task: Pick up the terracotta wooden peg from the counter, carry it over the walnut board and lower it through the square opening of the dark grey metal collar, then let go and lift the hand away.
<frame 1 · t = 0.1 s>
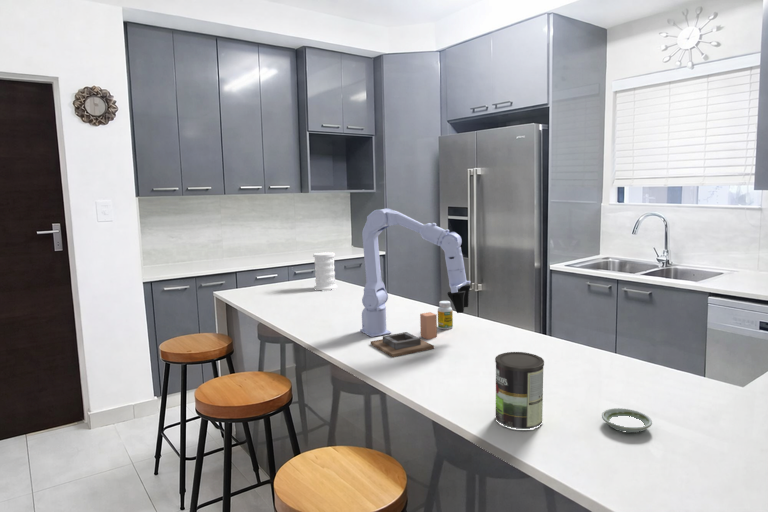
hand: (462, 309, 171), 10 cm above the countertop, tool pointing down, fingers open, 7 cm apart
peg holder: (401, 346, 168), on the countertop
decorative container: (325, 289, 264), on the countertop
peg: (428, 336, 178), on the countertop
coffee can: (518, 421, 115), on the countertop
grey-green ring: (625, 428, 110), on the countertop
supplement bottle: (445, 328, 188), on the countertop
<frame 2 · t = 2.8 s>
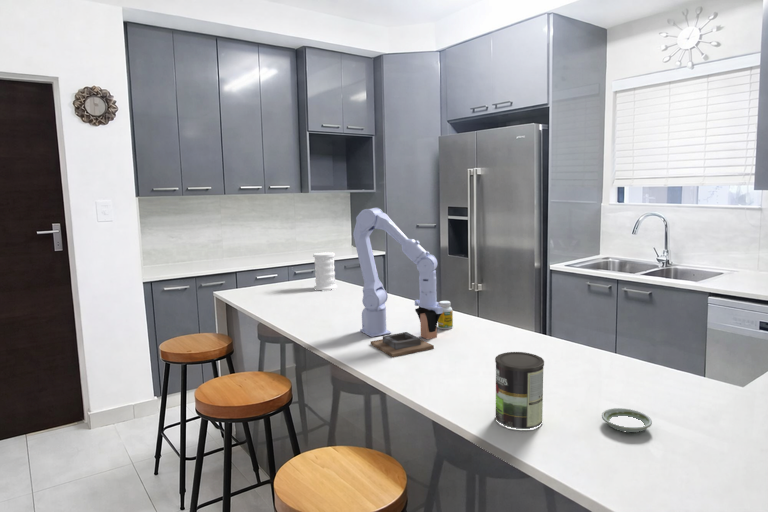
hand: (428, 330, 177), 2 cm above the countertop, tool pointing down, fingers closed on peg, 4 cm apart
peg: (428, 336, 178), on the countertop, touching gripper
everything else where it was.
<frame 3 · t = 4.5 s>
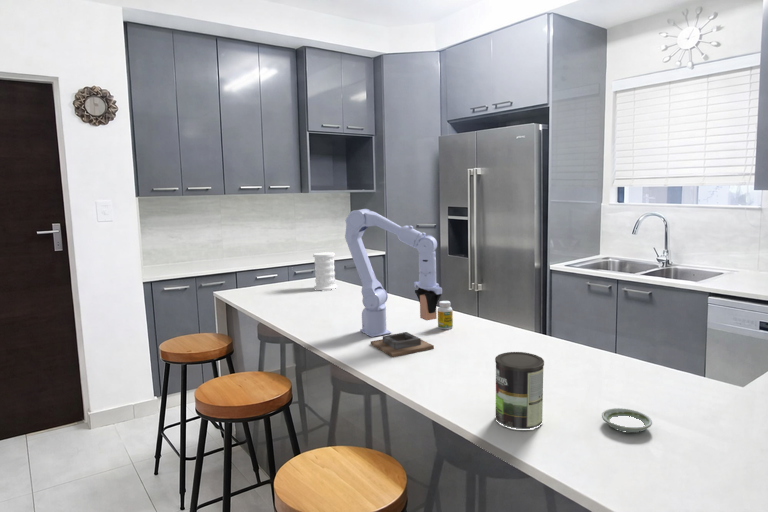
hand: (428, 311, 176), 9 cm above the countertop, tool pointing down, fingers closed on peg, 4 cm apart
peg: (428, 318, 177), point 7 cm above the countertop, touching gripper
everything else where it was.
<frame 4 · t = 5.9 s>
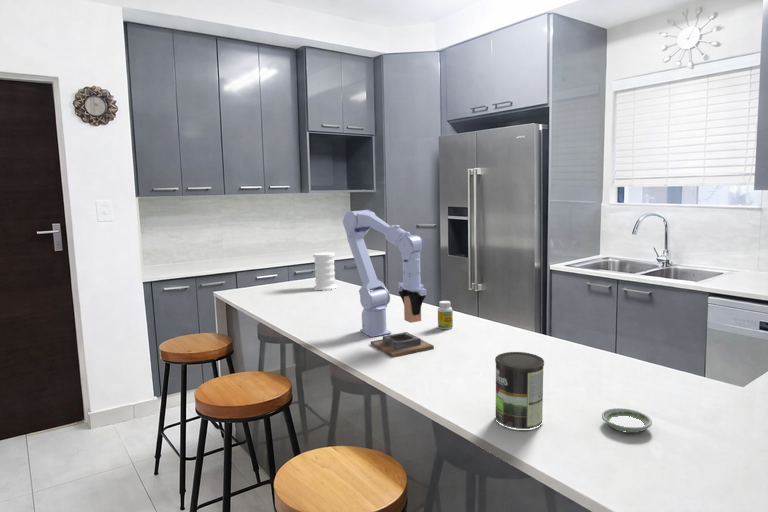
hand: (412, 313, 171), 10 cm above the countertop, tool pointing down, fingers closed on peg, 4 cm apart
peg: (412, 320, 171), point 7 cm above the countertop, touching gripper
everything else where it was.
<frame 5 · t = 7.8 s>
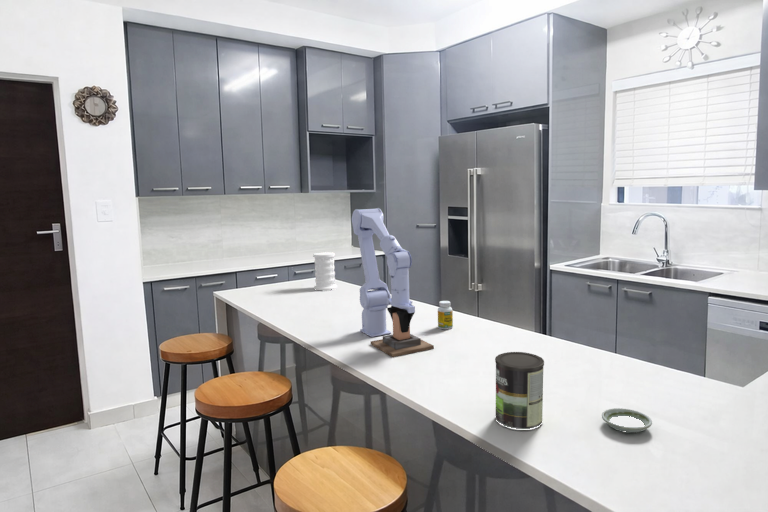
hand: (401, 330, 167), 5 cm above the countertop, tool pointing down, fingers closed on peg, 4 cm apart
peg: (401, 337, 168), point 3 cm above the countertop, touching gripper
everything else where it was.
when the fingers open (4 cm above the countertop, at t = 9.3 s): peg stays where it is, resting on peg holder.
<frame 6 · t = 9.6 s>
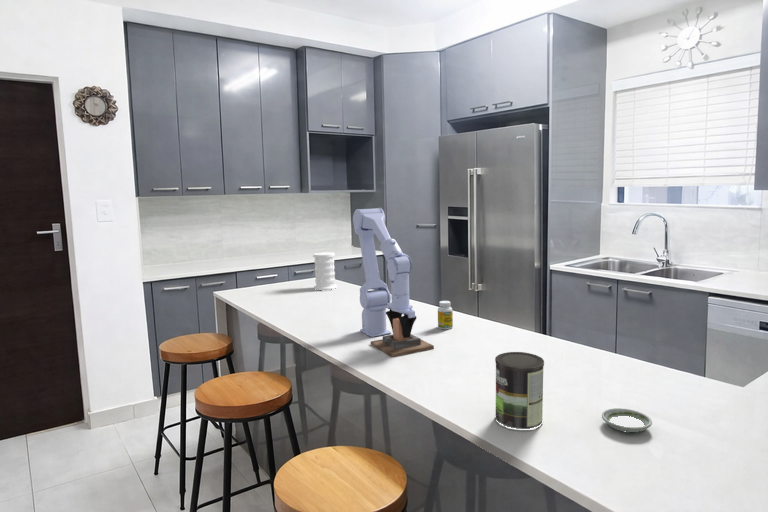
hand: (401, 334, 167), 4 cm above the countertop, tool pointing down, fingers open, 6 cm apart
peg: (401, 343, 168), point 1 cm above the countertop, touching peg holder
everything else where it was.
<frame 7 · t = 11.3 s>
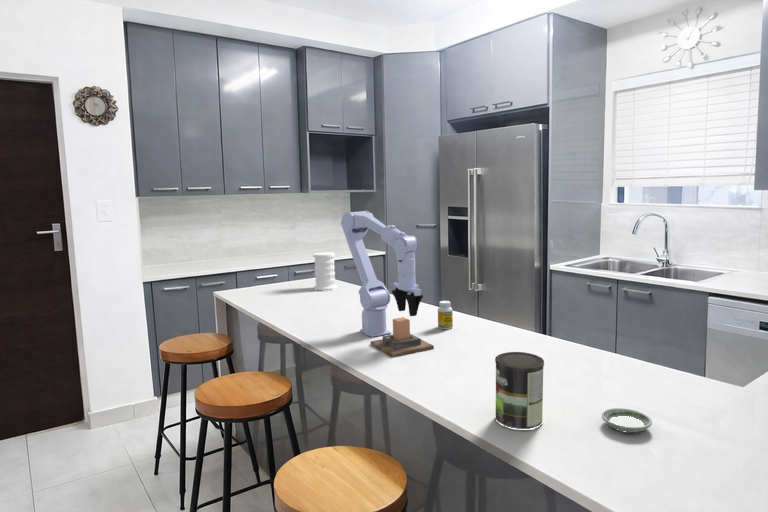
hand: (407, 313, 171), 10 cm above the countertop, tool pointing down, fingers open, 7 cm apart
nothing on the countertop moved.
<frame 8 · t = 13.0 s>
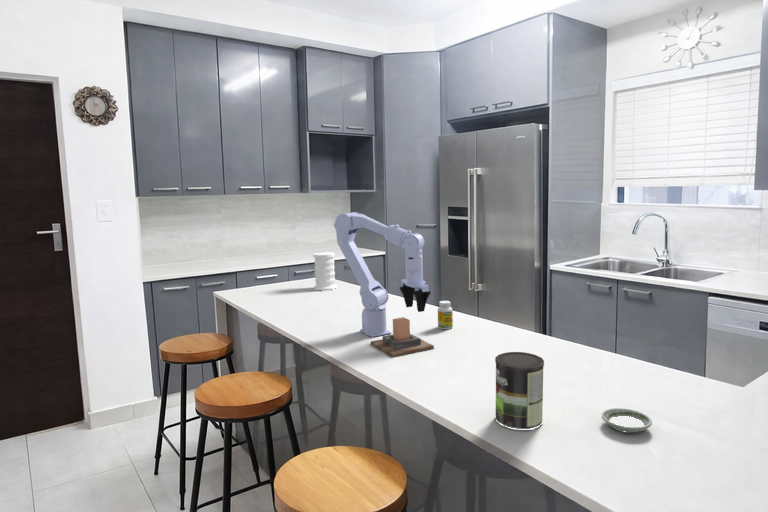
hand: (415, 309, 176), 10 cm above the countertop, tool pointing down, fingers open, 7 cm apart
nothing on the countertop moved.
at the end: peg 0.0 cm off-centre on the peg holder, point 1.0 cm above the peg holder's base; peg tilted 0°; the gripper is holding nothing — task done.
